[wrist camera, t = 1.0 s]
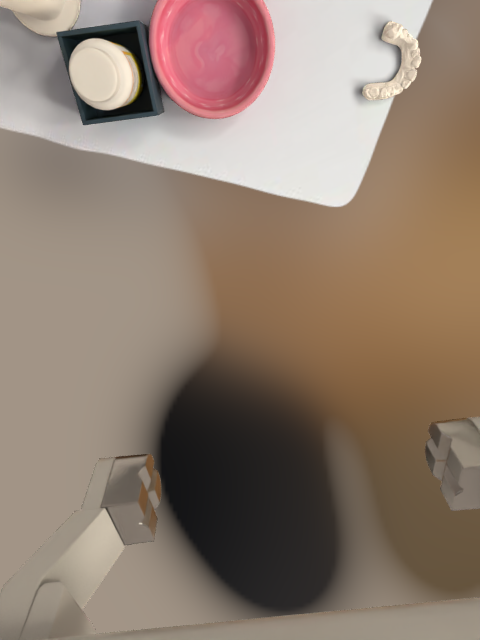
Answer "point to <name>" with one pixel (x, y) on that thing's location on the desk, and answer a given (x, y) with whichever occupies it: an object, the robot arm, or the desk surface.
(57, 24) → the candle
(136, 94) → the supplement bottle
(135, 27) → the tub
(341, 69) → the desk surface
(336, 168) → the desk surface
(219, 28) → the saucer
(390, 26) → the dentures
